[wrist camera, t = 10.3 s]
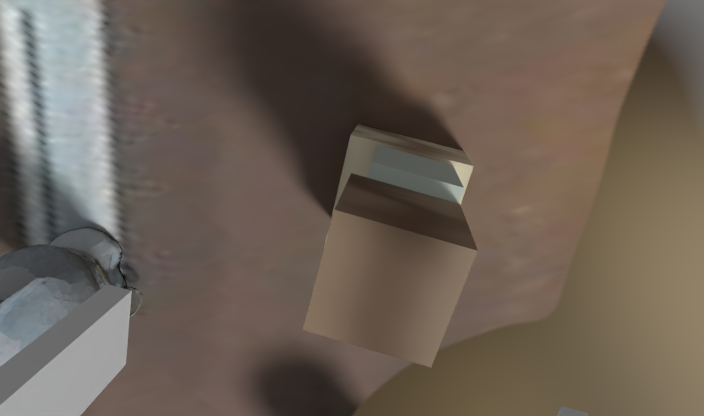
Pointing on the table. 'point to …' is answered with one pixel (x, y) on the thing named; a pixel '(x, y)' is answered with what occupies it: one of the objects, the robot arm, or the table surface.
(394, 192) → the walnut cube
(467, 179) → the tower base
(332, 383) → the table surface
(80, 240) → the figurine
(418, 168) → the tower top
